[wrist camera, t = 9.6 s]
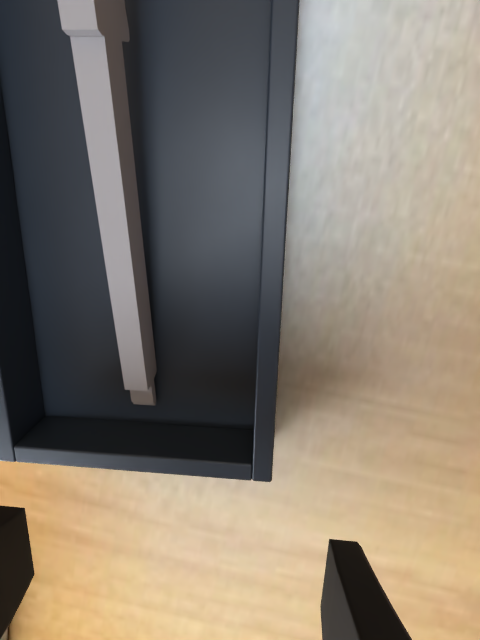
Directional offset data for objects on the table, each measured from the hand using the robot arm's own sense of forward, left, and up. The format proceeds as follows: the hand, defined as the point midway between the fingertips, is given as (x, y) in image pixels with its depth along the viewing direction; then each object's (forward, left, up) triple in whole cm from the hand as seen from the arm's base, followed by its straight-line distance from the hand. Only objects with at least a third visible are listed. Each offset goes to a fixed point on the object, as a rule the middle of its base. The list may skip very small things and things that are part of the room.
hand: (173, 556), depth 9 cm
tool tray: (+3, -9, -9) cm, 14 cm away
